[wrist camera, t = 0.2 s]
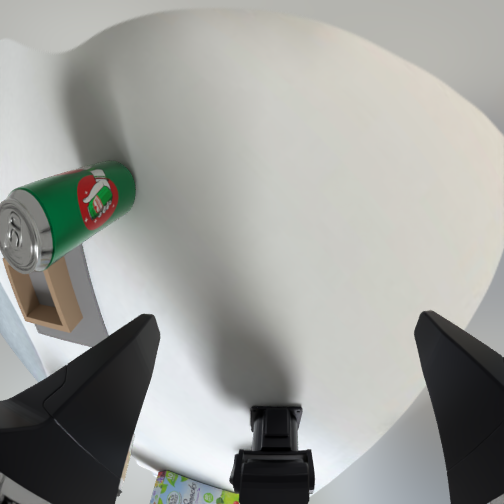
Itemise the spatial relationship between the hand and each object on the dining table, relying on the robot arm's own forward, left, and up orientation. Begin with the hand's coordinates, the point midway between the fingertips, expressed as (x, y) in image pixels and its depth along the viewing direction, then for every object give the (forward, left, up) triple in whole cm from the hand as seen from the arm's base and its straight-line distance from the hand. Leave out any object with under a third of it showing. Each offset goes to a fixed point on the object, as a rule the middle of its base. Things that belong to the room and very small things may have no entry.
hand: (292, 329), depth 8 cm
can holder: (-8, +26, -14) cm, 31 cm away
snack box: (-66, +15, -15) cm, 69 cm away
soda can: (+2, +14, -15) cm, 20 cm away
